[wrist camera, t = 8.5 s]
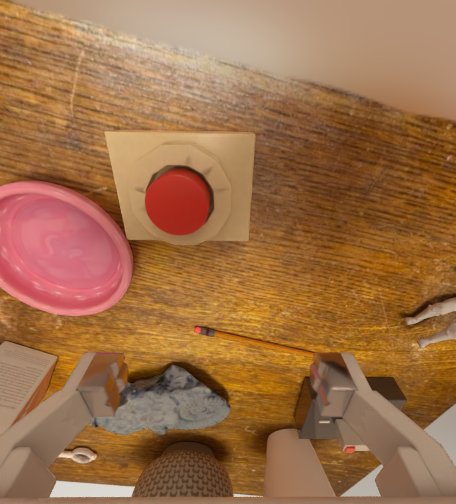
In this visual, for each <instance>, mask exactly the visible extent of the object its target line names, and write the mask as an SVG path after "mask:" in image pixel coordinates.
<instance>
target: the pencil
mask: <svg viewBox="0 0 456 504" xmlns="http://www.w3.org/2000/svg"><path fill="white" fill-rule="evenodd" d="M195 332H196V333H199V334H202V335H207V336H211V337H213V336H214V337H219V338H223V339H228V340H232V341H237V342H241V343H246V344H250V345H255V346H260V347H264V348H269V349H273V350H278V351H282V352H287V353H291V354H296V355H301V356H305V357H310V358H313V355H314V354H315V353H312V352H308V351H303V350H299V349H294V348H290V347H285V346H281V345H276V344H272V343H267V342H263V341H258V340H254V339H249V338H245V337H240V336H236V335H232V334H227V333H223V332H218V331H215V330H211V329H207V328H203V327H201V328H200V327H195Z"/></svg>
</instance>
